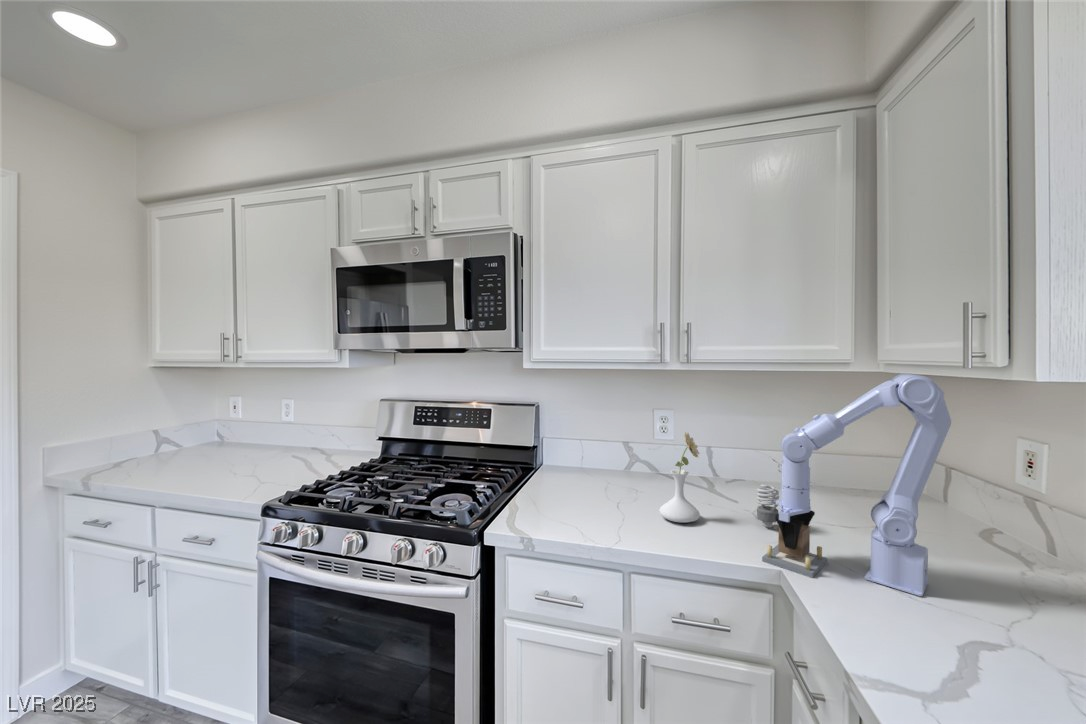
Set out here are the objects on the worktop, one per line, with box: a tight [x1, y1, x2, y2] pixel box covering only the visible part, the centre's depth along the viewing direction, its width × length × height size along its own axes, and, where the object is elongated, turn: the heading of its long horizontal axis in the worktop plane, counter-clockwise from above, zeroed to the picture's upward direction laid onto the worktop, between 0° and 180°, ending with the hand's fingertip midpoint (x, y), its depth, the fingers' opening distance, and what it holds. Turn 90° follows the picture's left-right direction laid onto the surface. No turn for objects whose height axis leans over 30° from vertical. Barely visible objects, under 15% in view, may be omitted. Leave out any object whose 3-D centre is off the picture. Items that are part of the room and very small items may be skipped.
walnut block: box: [777, 525, 811, 559], centre depth 103 cm, size 5×5×6 cm
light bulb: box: [755, 484, 780, 529], centre depth 123 cm, size 6×6×12 cm
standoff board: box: [761, 544, 828, 579], centre depth 103 cm, size 10×10×4 cm
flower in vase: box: [658, 431, 701, 524], centre depth 130 cm, size 13×11×25 cm
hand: (794, 544), depth 103 cm, fingers closed on walnut block, 5 cm apart
